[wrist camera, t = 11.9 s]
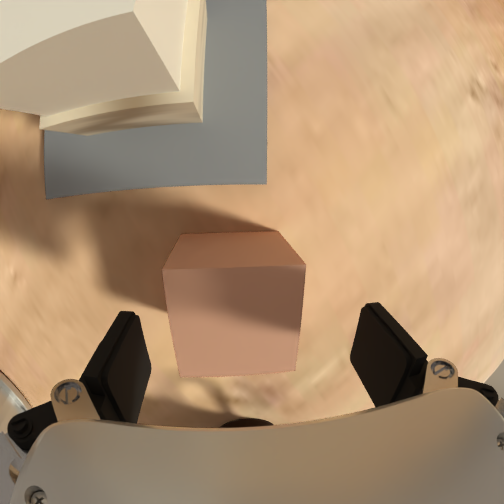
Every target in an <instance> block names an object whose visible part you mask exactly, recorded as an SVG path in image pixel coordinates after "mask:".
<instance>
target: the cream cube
mask: <svg viewBox="0 0 504 504" xmlns="http://www.w3.org/2000/svg"><path fill="white" fill-rule="evenodd" d="M187 4H188V0H0V109H5V110H12V111H18V112H24V113H30V114H36V115H41V116H46V117H49V116H52V115H55V114H59V113H62V112H65V111H69V110H73V109H77V108H81V107H85V106H89V105H93V104H98V103H102V102H107V101H112V100H118V99H124V98H130V97H136V96H143V95H151V94H159V93H169V92H180V82H181V65H182V51H183V40H184V29H185V20H186V12H187Z"/></svg>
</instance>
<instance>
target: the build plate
mask: <svg viewBox="0 0 504 504" xmlns="http://www.w3.org/2000/svg"><path fill="white" fill-rule="evenodd" d="M206 9H207V30H206V45H205V63H204V87H203V123H185V124H171V125H159V126H150V127H141V128H133V129H125V130H119V131H112V132H106V133H100V134H95V135H90V136H84V135H78V134H71V133H64V132H57V131H49V130H45V135H44V172H45V191H46V199H53V198H60V197H67V196H74V195H82V194H90V193H99V192H109V191H119V190H130V189H142V188H156V187H173V186H194V185H230V184H267V9H266V0H206Z"/></svg>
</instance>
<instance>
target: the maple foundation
mask: <svg viewBox="0 0 504 504" xmlns="http://www.w3.org/2000/svg"><path fill="white" fill-rule="evenodd" d="M206 30H207V9H206V0H188V4H187V12H186V20H185V29H184V40H183V51H182V65H181V82H180V92H169V93H159V94H151V95H143V96H136V97H130V98H124V99H118V100H112V101H107V102H102V103H98V104H93V105H89V106H85V107H81V108H77V109H73V110H69V111H65V112H62V113H59V114H55V115H52V116H49V117H46V116H41V115H40V126H39V129H41V130H49V131H57V132H64V133H71V134H78V135H84V136H90V135H95V134H100V133H106V132H112V131H119V130H125V129H133V128H141V127H150V126H159V125H171V124H185V123H203V87H204V63H205V45H206Z"/></svg>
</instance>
